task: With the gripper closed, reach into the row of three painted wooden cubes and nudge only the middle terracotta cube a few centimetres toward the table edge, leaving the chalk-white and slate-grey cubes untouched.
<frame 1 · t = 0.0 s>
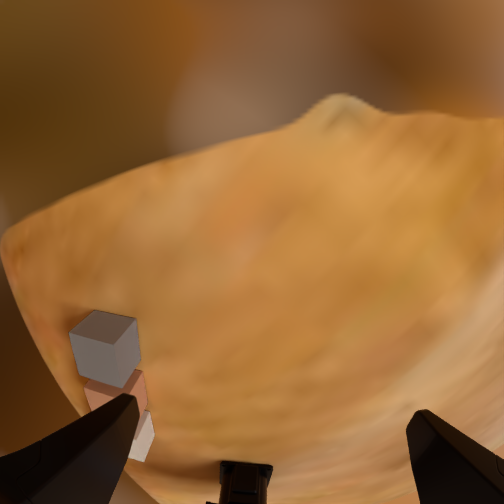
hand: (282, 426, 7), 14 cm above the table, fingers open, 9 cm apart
grey cube: (117, 335, 24), on the table
white cube: (134, 419, 27), on the table
terracotta cube: (125, 383, 25), on the table
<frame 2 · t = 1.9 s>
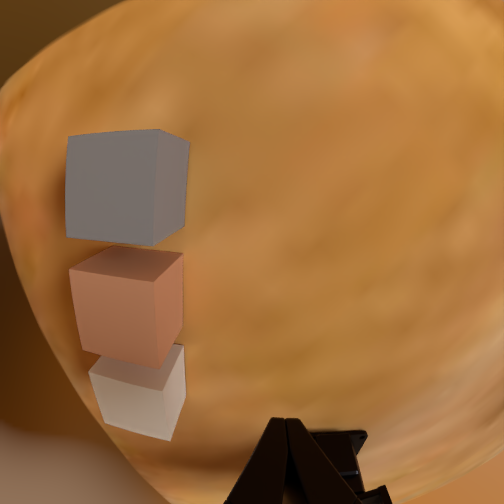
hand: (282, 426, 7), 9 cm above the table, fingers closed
grey cube: (147, 182, 15), on the table
white cube: (153, 366, 18), on the table
terracotta cube: (146, 286, 16), on the table
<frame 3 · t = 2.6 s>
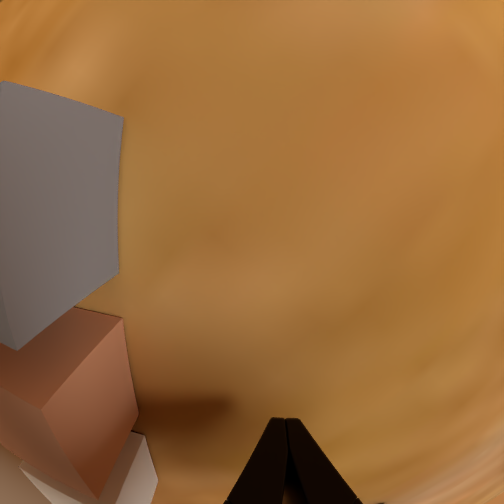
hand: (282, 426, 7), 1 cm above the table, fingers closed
grey cube: (60, 195, 7), on the table
white cube: (111, 448, 10), on the table
terracotta cube: (80, 358, 9), on the table
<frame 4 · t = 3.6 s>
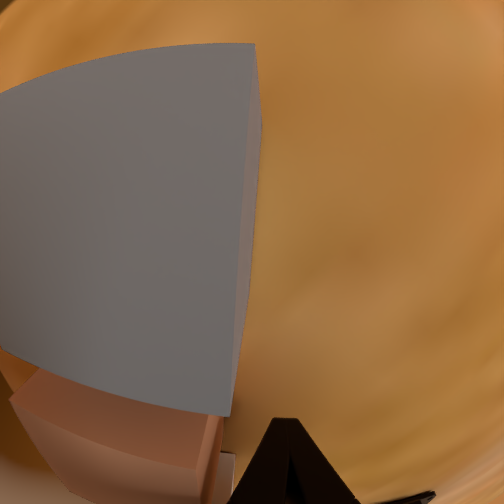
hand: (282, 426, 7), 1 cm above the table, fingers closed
grey cube: (169, 205, 7), on the table
white cube: (186, 470, 10), on the table
terracotta cube: (159, 385, 9), on the table, touching gripper
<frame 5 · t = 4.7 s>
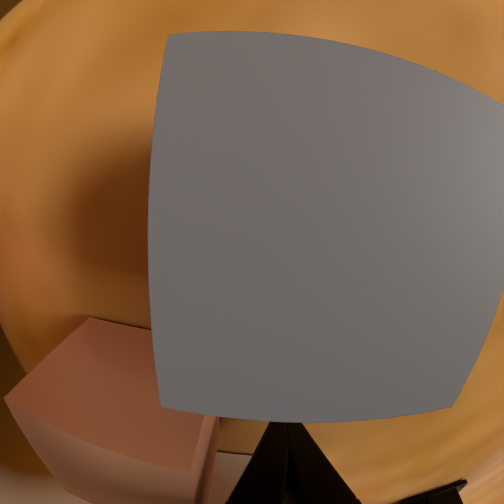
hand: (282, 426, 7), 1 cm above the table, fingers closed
grey cube: (308, 212, 7), on the table
white cube: (259, 479, 10), on the table
terracotta cube: (155, 384, 9), on the table, touching gripper
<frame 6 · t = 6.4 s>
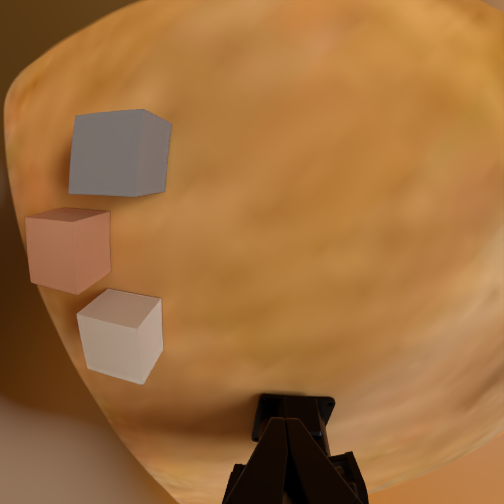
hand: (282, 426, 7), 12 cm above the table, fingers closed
grey cube: (136, 156, 17), on the table
white cube: (135, 319, 20), on the table
terracotta cube: (85, 239, 19), on the table
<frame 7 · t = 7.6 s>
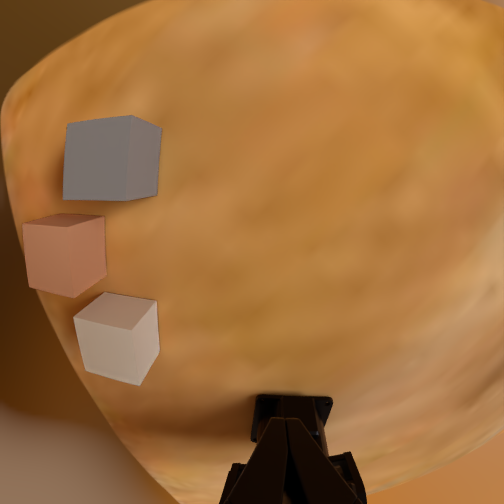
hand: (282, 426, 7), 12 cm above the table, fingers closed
grey cube: (129, 161, 17), on the table
white cube: (131, 322, 20), on the table
terracotta cube: (81, 244, 19), on the table
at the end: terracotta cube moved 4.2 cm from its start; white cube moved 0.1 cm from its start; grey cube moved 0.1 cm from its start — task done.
